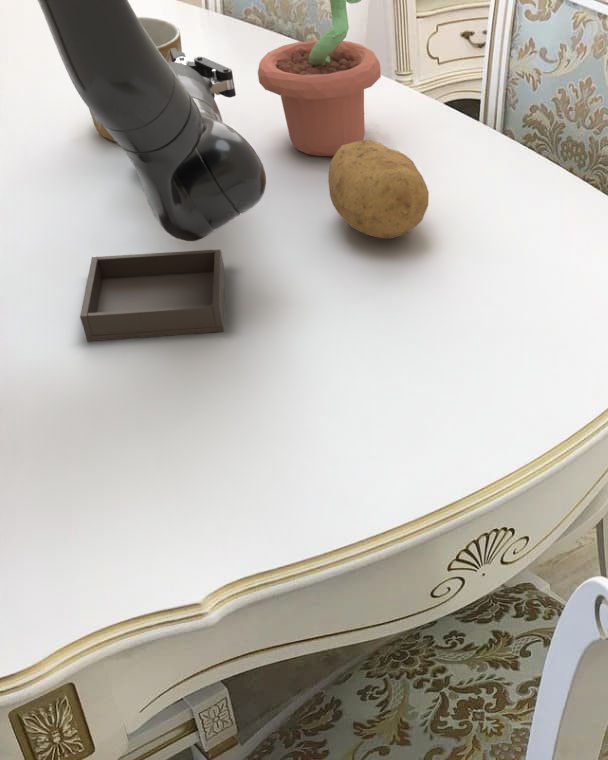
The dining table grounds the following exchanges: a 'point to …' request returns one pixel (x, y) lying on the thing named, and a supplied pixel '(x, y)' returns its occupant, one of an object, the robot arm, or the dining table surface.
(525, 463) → the dining table surface
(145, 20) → the planter
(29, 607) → the dining table surface
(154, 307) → the tray
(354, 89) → the decorative flower
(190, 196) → the robot arm
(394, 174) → the potato
